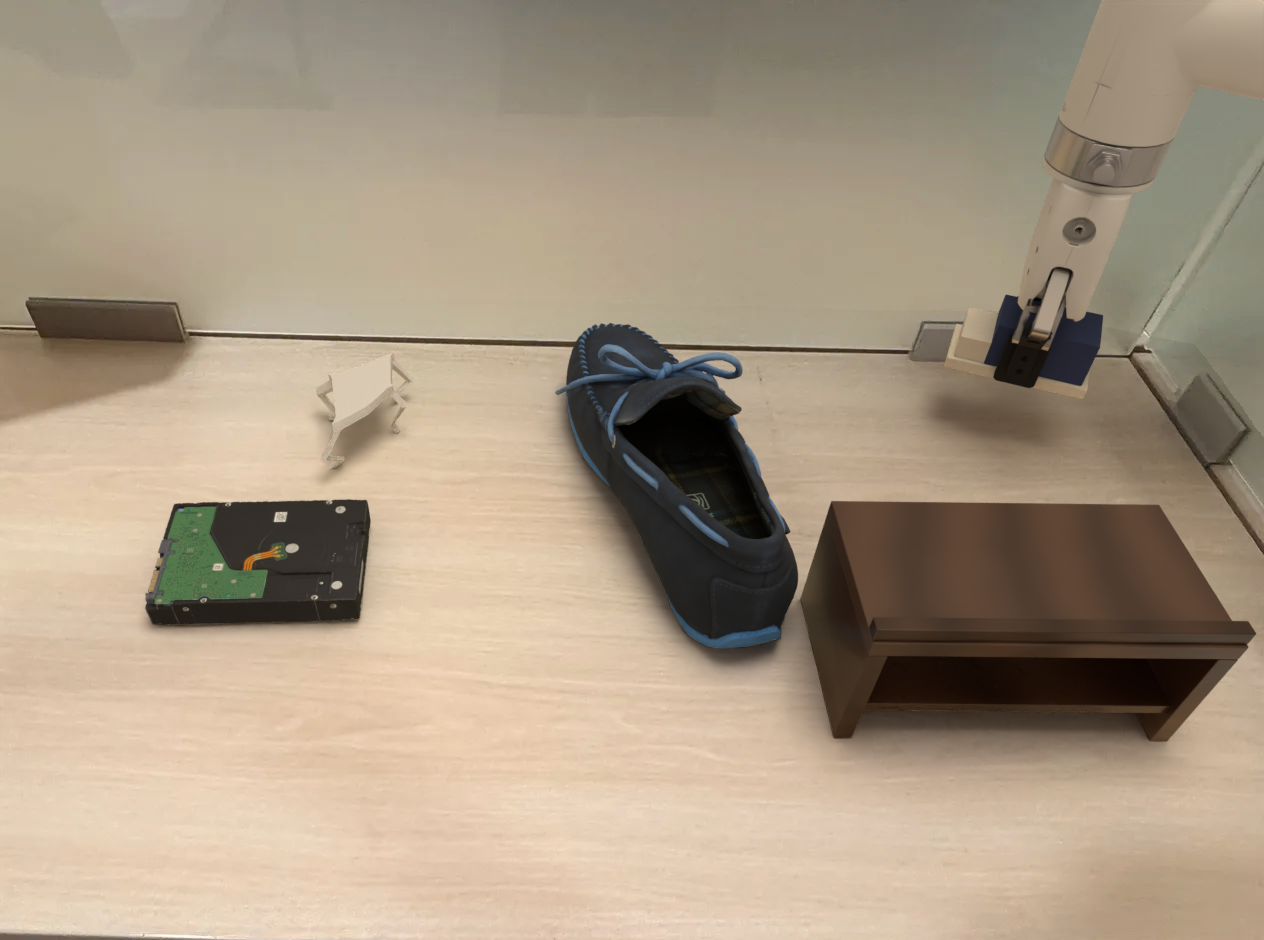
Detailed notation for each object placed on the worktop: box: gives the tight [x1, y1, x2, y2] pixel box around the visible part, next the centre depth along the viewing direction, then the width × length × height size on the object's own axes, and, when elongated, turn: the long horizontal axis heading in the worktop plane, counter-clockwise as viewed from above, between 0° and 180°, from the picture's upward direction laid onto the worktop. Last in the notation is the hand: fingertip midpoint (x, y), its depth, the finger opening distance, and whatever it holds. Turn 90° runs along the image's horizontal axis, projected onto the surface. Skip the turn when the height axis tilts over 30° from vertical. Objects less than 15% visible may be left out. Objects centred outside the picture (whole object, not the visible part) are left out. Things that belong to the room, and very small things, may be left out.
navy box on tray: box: [943, 294, 1104, 400], centre depth 81 cm, size 11×6×5 cm, turn 66°
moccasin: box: [555, 322, 799, 649], centre depth 75 cm, size 14×34×12 cm, turn 21°
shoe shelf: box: [800, 500, 1257, 742], centre depth 64 cm, size 22×12×11 cm, turn 90°
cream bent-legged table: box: [315, 352, 414, 470], centre depth 82 cm, size 12×8×5 cm
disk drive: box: [144, 498, 372, 626], centre depth 72 cm, size 10×3×15 cm
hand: (1017, 359), depth 82 cm, fingers closed on navy box on tray, 5 cm apart
